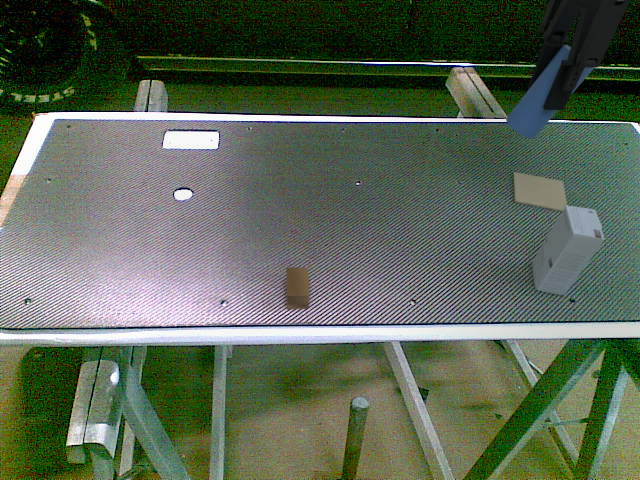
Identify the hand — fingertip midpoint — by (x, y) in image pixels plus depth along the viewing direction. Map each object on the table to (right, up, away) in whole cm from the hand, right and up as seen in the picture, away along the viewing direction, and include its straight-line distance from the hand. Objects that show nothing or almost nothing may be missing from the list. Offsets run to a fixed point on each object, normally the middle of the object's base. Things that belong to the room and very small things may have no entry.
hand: (545, 98), depth 68 cm
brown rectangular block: (-35, -28, -1) cm, 45 cm away
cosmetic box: (+2, -26, +4) cm, 27 cm away
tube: (+2, +1, +1) cm, 3 cm away
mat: (+8, -11, +19) cm, 24 cm away
